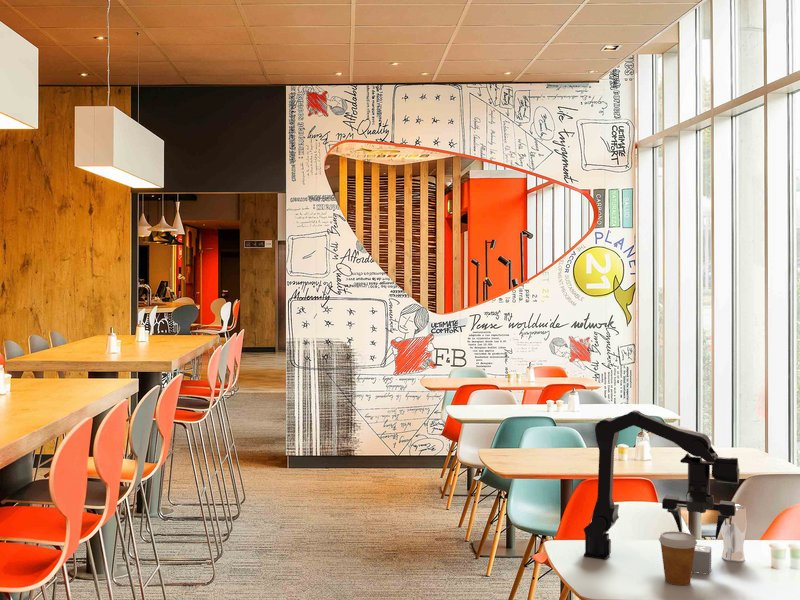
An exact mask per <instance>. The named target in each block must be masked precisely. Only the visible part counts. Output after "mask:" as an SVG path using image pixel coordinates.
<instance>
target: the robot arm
mask: <svg viewBox="0 0 800 600" xmlns="http://www.w3.org/2000/svg"><path fill="white" fill-rule="evenodd" d="M633 426H634V427H635V428H636V427H637V428H640V429H642V430H644V431H646V432H648V433H651V434H653V435H656V436H658V437H660V438H663V439H664V440H665V439H666V440H668V441H669V442H672V443H673V444H675V445H677V446H678V447H679V448H680V449H682V450H683V451H685V452H687V453H686V454H685V456H684V457H682V458H681V459H680V463H682V464H687V492H686V495H685V496H686V499H685V500H684V499H680V496H678V495H668V494H667V495H665V496H664V497H663V499H662V503H661V505H662V506H661V509H663V510H666V512H667V513H670V514H671V515H672V516H673V518H674V521H675V523H676V526H677V529H678V532H683V521H682V511H681V508H686V511H687V512H689V513H694V512H695V513H700V514H705V513H706V512H707V510H708V511H718V515H717V520H716V528H715V540H718V537H719V535H720V532H721V526H722V524H723V522H724V520H725V519H726V518H727V519H729V518H730V516H735V513H736V504H737V503H735V501H730V500H728V501H727V500H720V501H719V503H715V498H714V494H711V480H710V479H711V478H713V479H714V480H715V481H716V482H717V483H726V484H737V485H738V484H739V482H740V466H739V458H738V457H724V456H723V457H722V456H719V455H718V453H717V452H716V451H715V449H714V448H713V447H712V443H711V439H710V437H709V436H708V435H707V434H705V433H702V432H697V431H694V430H687V429H683V428H678V427H677V426H674V425H671V424H669V423H666V422H664V421H662V420H660V419H657V418H655V417H652V416H649V415H647V414H645V413H642V412H641V411H639V410H637V409H636V410H631V411H630V412H628V413H626V414H623V415H621V416H617V417H616V418H614V417H606V418H604V419H602V420H600V421H598V422H597V423H596V424H595V428H594V432H595V440H596V444H597V447H598V471H597V472H598V473H597V476H598V477H597V499H596V500H595V505H594V507H593V511H592V517H591V521H590V522H589V524H587V525H586V526H585V527H584V528H583V532H584V535H585V537H584V539H585V540H584V543H585V546H584V553H583V556H584V557H590V558H596V559H604V560H606V559H608V557H609V556H610V555H611V552H612V540H611V538H610V533H608V532H609V530H610V529H611V528H612V527H613V526H615V524H616V522H617V521H618V519H619V517H620V516H619V513H618V512H619V508H620V505H619V504H615V501H614V499H613V498H614V497H613V493H614V492H613V489H614V463H615V462H614V461H615V449H616V446H617V443H618V440H619V435H620V432H622V431H624V430H625V429H628V428H631V427H633ZM710 469H711V470H710Z"/></svg>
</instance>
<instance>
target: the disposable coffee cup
mask: <svg viewBox="0 0 800 600" xmlns="http://www.w3.org/2000/svg"><path fill="white" fill-rule="evenodd" d="M658 541H659V544H660V549H661V557H662V564H663V565H662V566H663V574H664V581H665V582H666V583H668V584H670V585H675V586H687V585H690V584H691V580H692V579H691V578H692V575H693V574H692V573H693V572H692V566H693V559H694V551H695V546H696V545H698V541H697V540H696V537H695V536H694V534H691V533H687V532H683V531H682V532H679V531H675V530H674V531H672V530H671V531H663V532H661V533H660V535H659V538H658Z"/></svg>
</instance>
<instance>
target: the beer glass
mask: <svg viewBox="0 0 800 600" xmlns="http://www.w3.org/2000/svg"><path fill="white" fill-rule="evenodd" d="M735 504H736V513H735V516H730V518H729V519H727V518H726V519H725V520H724V522H723V524H722V526H721V529H720V532H721V536H722V542H723V543H722V544H723V549H722V554H721V558H722V559H723V560H724V561H728V562H734V563H741V562H744V561H745V559H746V558H745V553H744V543H745V537H746V533H747V510H746V509H747V508H746V506H744V505H741V504H737V503H735Z"/></svg>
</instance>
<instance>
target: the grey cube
mask: <svg viewBox="0 0 800 600" xmlns="http://www.w3.org/2000/svg"><path fill="white" fill-rule="evenodd" d="M710 570H712V546H707V545H700V544H696V546H695V551H694V559H693V566H692V573H694V572H699V573H698V574H702V573H706V574H705V575H710V574H711V571H710Z"/></svg>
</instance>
